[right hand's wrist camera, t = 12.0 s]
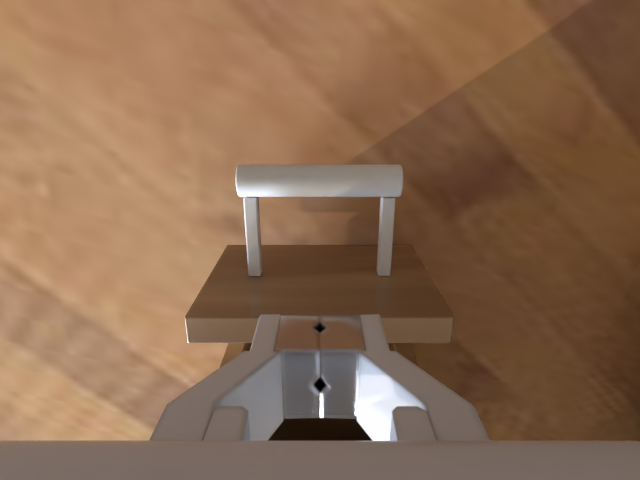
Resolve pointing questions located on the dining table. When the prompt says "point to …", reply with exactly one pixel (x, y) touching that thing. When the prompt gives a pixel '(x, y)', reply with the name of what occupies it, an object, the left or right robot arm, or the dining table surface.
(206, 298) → the drawer
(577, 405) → the dining table surface
